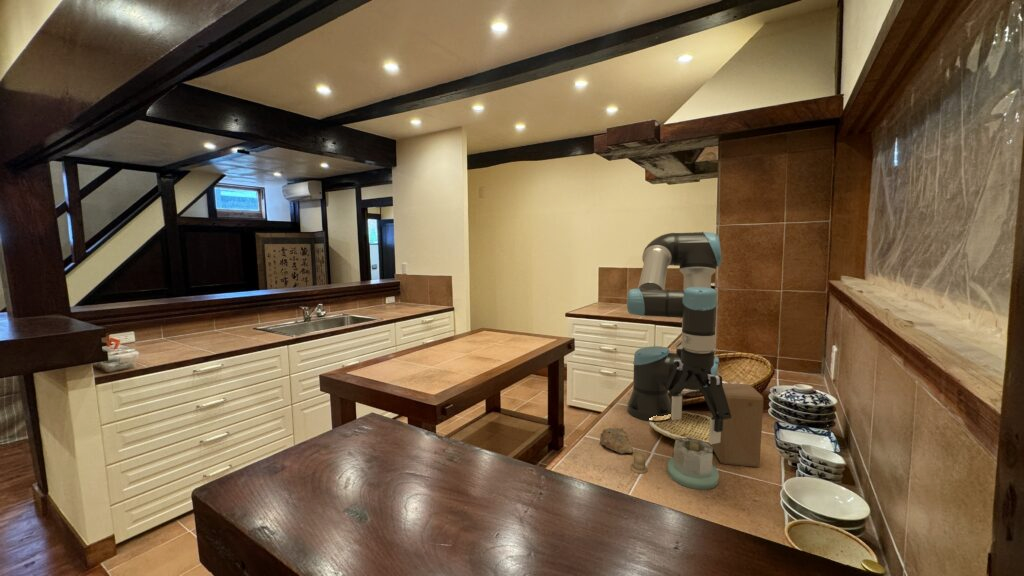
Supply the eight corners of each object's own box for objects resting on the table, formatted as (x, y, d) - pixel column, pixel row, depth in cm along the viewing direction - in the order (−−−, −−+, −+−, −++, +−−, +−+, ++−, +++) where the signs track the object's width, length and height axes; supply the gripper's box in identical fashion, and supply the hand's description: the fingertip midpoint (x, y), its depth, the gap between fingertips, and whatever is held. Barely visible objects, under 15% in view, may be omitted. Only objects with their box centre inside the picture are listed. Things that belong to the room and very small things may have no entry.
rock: (595, 441, 122) (607, 451, 112) (598, 421, 122) (611, 430, 112) (621, 446, 123) (636, 457, 113) (625, 426, 123) (639, 436, 113)
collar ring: (667, 462, 105) (667, 440, 105) (694, 456, 108) (695, 435, 107) (690, 480, 97) (691, 457, 96) (719, 474, 99) (720, 451, 99)
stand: (631, 462, 109) (632, 449, 108) (648, 466, 107) (648, 452, 107) (629, 471, 105) (630, 457, 104) (647, 475, 103) (647, 460, 103)
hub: (668, 459, 110) (668, 438, 110) (716, 468, 106) (717, 446, 105) (666, 483, 100) (667, 460, 99) (720, 494, 95) (721, 470, 94)
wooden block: (760, 468, 105) (765, 396, 103) (720, 465, 107) (723, 394, 105) (746, 449, 115) (750, 383, 113) (709, 446, 117) (712, 381, 115)
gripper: (653, 339, 109) (651, 412, 112) (725, 365, 86) (720, 457, 88) (676, 336, 112) (673, 408, 114) (752, 362, 88) (747, 452, 91)
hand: (694, 430), depth 101 cm, fingers open, 13 cm apart
